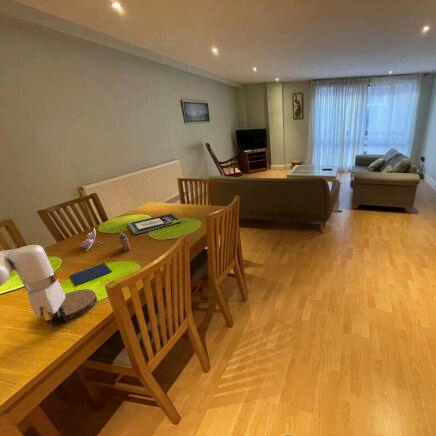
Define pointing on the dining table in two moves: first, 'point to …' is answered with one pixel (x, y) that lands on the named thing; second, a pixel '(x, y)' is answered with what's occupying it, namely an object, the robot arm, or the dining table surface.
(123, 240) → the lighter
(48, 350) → the dining table surface
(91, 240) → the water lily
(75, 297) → the brown round disc
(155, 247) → the dining table surface
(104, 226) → the dining table surface
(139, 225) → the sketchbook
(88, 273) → the cloth
